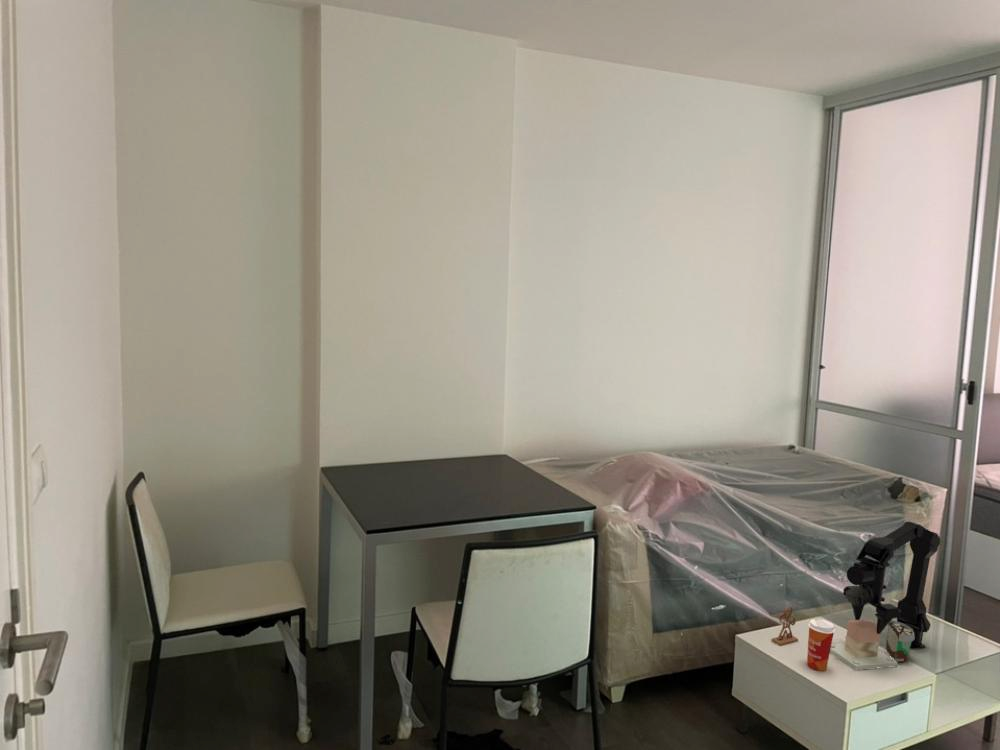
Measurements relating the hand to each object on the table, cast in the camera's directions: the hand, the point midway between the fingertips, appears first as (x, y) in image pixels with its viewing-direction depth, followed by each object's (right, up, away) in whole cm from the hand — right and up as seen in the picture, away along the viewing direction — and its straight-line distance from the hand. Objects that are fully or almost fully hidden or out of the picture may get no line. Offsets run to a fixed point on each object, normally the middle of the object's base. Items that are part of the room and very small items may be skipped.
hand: (867, 627), depth 246 cm
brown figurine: (-23, -8, +9) cm, 26 cm away
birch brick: (-2, -9, +1) cm, 9 cm away
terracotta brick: (-1, -4, 0) cm, 4 cm away
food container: (+12, -11, +3) cm, 17 cm away
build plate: (-2, -10, +1) cm, 10 cm away
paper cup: (-19, -10, -8) cm, 23 cm away
